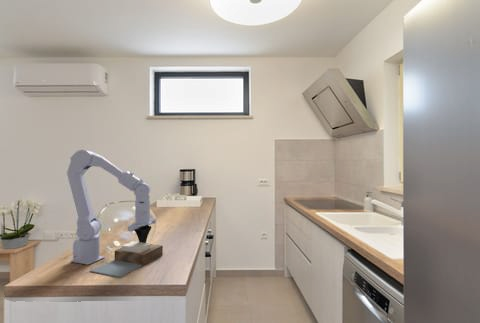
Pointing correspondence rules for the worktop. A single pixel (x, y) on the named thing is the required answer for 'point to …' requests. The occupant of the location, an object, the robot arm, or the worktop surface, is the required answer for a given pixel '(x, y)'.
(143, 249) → the light grey flat block
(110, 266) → the mat
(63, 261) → the worktop surface
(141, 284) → the worktop surface
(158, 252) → the brown flat wooden block
